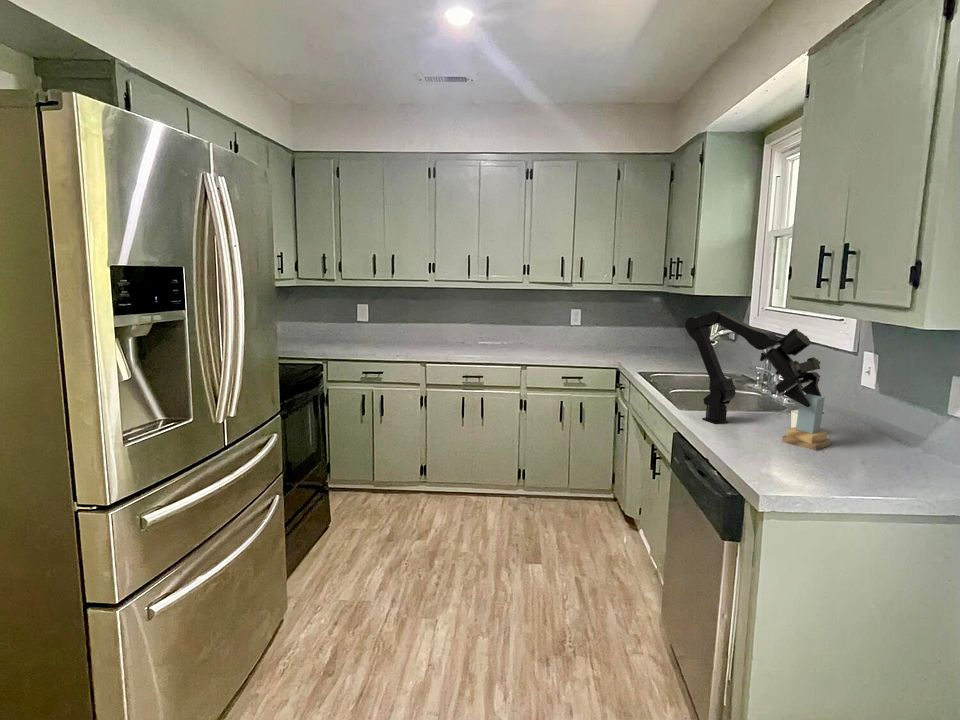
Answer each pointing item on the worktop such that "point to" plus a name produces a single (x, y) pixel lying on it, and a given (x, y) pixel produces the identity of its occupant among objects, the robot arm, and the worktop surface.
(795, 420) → the shot glass
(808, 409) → the tall block
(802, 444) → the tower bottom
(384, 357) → the worktop surface
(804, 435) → the tower top
